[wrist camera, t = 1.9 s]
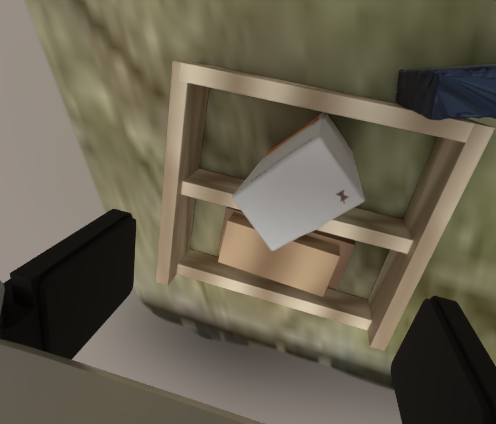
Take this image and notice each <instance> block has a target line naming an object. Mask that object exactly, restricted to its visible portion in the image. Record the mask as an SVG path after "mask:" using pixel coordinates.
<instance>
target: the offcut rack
mask: <svg viewBox="0 0 496 424" xmlns="http://www.w3.org/2000/svg"><path fill="white" fill-rule="evenodd" d="M209 87H210V88H215V89H219V90H224V91H229V92H233V93H238V94H243V95H247V96H252V97H256V98H261V99H266V100H270V101H275V102H280V103H284V104H289V105H293V106H298V107H303V108H307V109H312V110H317V111H321V112H326V113H330V114H335V115H340V116H344V117H349V118H354V119H358V120H363V121H367V122H372V123H377V124H381V125H386V126H391V127H395V128H400V129H404V130H409V131H414V132H418V133H423V134H428V135H432V136H437V137H438V139H437V141H436V143H435V146H434V148H433V150H432V153H431V155H430V157H429V159H428V162H427V164H426V166H425V169H424V171H423V173H422V176H421V178H420V180H419V183H418V185H417V187H416V190H415V192H414V194H413V197H412V199H411V201H410V204H409V206H408V208H407V211H406V213H405V215H404V218H403V220H402V219H398V218H394V217H390V216H386V215H382V214H378V213H374V212H370V211H367V210H363V209H359V208H355V207H354V208H352V209H350V210H349V211H347V212H345V213H343V214H341V215H340V216H338V217H336V218H334V219H332V220H331V221H329V222H327V223H326V224H324V225H323V226H321V227H320V228H318V229H316V230H319V231H322V232H326V233H330V234H334V235H338V236H341V237H345V238H349V239H353V240H357V241H360V242H364V243H368V244H372V245H376V246H379V247H383V248H387V249H390V250H389V253H388V255H387V257H386V260H385V262H384V264H383V267H382V269H381V271H380V274H379V276H378V278H377V281H376V283H375V285H374V288H373V290H372V292H371V295H370V297H369V299H368V300H367V299H363V298H360V297H356V296H353V295H349V294H346V293H342V292H339V291H335V290H332V289H328V288H327V289H326V291H325V293H324V296H323V297H321V296H318V295H315V294H312V293H309V292H306V291H303V290H300V289H297V288H294V287H291V286H288V285H285V284H282V283H280V282H277V281H274V280H271V279H268V278H265V277H262V276H259V275H256V274H253V273H250V272H247V271H244V270H241V269H238V268H235V267H232V266H229V265H226V264H223V263H220V262H218V260H219V257H216V256H212V255H209V254H205V253H202V252H198V251H195V250H191V249H190V241H191V233H192V225H193V216H194V208H195V200H196V198H197V199H201V200H205V201H208V202H212V203H216V204H220V205H224V206H227V207H231V208H235V209H239V210H241V209H240V208H239V207H238V205H237V204H236V202H235V201H234V200H233V199H232V196H233V195H234V193H235V192H236V191H237V190H238V188H239V187H240V186H241V185H242V183H243V182H244V181H245V180H243V179H239V178H235V177H231V176H227V175H223V174H219V173H215V172H211V171H207V170H203V169H199V168H200V159H201V151H202V143H203V135H204V127H205V119H206V111H207V102H208V94H209ZM494 129H495V128H494V127H491V126H488V125H484V124H481V123H478V122H475V121H472V120H469V119H466V118H465V119H451V118H449V119H443V120H430V119H427V118H425V117H424V116H422V115H419V114H418V113H416V112H414V111H412V110H410V109H408V108H405V107H404V106H402V105H399V104H395V103H390V102H385V101H380V100H375V99H370V98H366V97H361V96H356V95H351V94H346V93H341V92H337V91H332V90H327V89H322V88H317V87H313V86H308V85H303V84H298V83H293V82H288V81H284V80H279V79H274V78H269V77H264V76H259V75H255V74H250V73H245V72H240V71H235V70H230V69H226V68H221V67H216V66H211V65H206V64H201V63H194V62H182V61H173V64H172V78H171V91H170V104H169V117H168V131H167V144H166V157H165V170H164V183H163V197H162V210H161V223H160V236H159V250H158V263H157V276H156V282H158V283H161V284H164V285H169V283H170V282H171V281H172V279H173V278H174V277H175V275H176V274H179V275H182V276H186V277H189V278H192V279H196V280H199V281H203V282H206V283H209V284H213V285H216V286H219V287H223V288H226V289H230V290H233V291H236V292H240V293H243V294H246V295H250V296H253V297H257V298H260V299H263V300H267V301H270V302H273V303H277V304H280V305H284V306H287V307H290V308H294V309H297V310H300V311H304V312H307V313H310V314H314V315H317V316H321V317H324V318H327V319H331V320H334V321H337V322H341V323H344V324H348V325H351V326H354V327H358V328H361V329H364V330H368V337H369V343H370V347H372V348H376V349H379V350H382V351H384V350H385V348H386V346H387V344H388V342H389V340H390V338H391V336H392V334H393V332H394V330H395V328H396V326H397V324H398V322H399V320H400V318H401V316H402V314H403V312H404V310H405V308H406V306H407V304H408V302H409V300H410V298H411V296H412V294H413V292H414V290H415V288H416V286H417V284H418V282H419V280H420V278H421V276H422V274H423V272H424V270H425V268H426V266H427V264H428V262H429V260H430V258H431V256H432V254H433V252H434V250H435V248H436V246H437V244H438V242H439V240H440V238H441V236H442V234H443V232H444V230H445V228H446V226H447V224H448V222H449V220H450V218H451V216H452V214H453V212H454V210H455V208H456V206H457V204H458V202H459V200H460V198H461V196H462V194H463V192H464V190H465V188H466V186H467V183H468V181H469V179H470V177H471V175H472V173H473V171H474V169H475V167H476V165H477V163H478V161H479V159H480V157H481V155H482V153H483V151H484V149H485V147H486V145H487V143H488V141H489V139H490V137H491V135H492V133H493V131H494Z"/></svg>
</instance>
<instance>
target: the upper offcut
mask: <svg viewBox="0 0 496 424" xmlns="http://www.w3.org/2000/svg"><path fill="white" fill-rule="evenodd" d="M339 257H340V251H339V245H336V244H333V243H330V242H327V241H323V240H320V239H317V238H314V237H311V236H307V235H303V236H301V237H299V238H297V239H295V240H294V241H292V242H290V243H288V244H286V245H284V246H283V247H281V248H279V249H277V250H275V251H271V250H270V249H269V247H268V246H267V245H266V243H265V242H264V241H263V239H262V238H261V236H260V235H259V234H258V232H257V231H256V230H255V228H254V227H253V226H252V224H251V223H250V222H249V220H248V219H247V217H246V216H244V215H240V214H237V213H234V212H233V214H232V215H231V216H230V218H229V219H228V221H227V225H226V230H225V234H224V238H223V242H222V247H221V251H220V255H219V260H218V262H220V263H223V264H226V265H229V266H232V267H235V268H238V269H241V270H244V271H247V272H250V273H253V274H256V275H259V276H262V277H265V278H268V279H271V280H274V281H277V282H280V283H282V284H285V285H288V286H291V287H294V288H297V289H300V290H303V291H306V292H309V293H312V294H315V295H318V296H321V297H323V296H324V293H325V291H326V289H327V286H328V284H329V281H330V279H331V277H332V274H333V272H334V269H335V267H336V265H337V262H338V260H339Z"/></svg>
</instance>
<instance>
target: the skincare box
mask: <svg viewBox="0 0 496 424" xmlns="http://www.w3.org/2000/svg"><path fill="white" fill-rule="evenodd" d="M232 199H233V200H234V201H235V202H236V204H237V205H238V207H239V208H240V209H241V211H242V212H243V213H244V215H245V216H246V217H247V219H248V220H249V222H250V223H251V224H252V226H253V227H254V228H255V230H256V231H257V232H258V234H259V235H260V236H261V238H262V239H263V241H264V242H265V243H266V245H267V246H268V247H269V249H270V250H271V251H275V250H277V249H279V248H281V247H283V246H284V245H286V244H288V243H290V242H292V241H294V240H295V239H297V238H299V237H301V236H303V235H305V234H308V233H310V232H312V231H314V230H316V229H318V228H320V227H321V226H323V225H324V224H326V223H327V222H329V221H331V220H332V219H334V218H336V217H338V216H340V215H341V214H343V213H345V212H347V211H349V210H350V209H352V208H354V207H356V206H358V205H359V204H361V203H363V202H364V201H365V197H364V194H363V191H362V187H361V182H360V179H359V175H358V171H357V167H356V163H355V159H354V156H353V152H352V150H351V149H350V147H349V145H348V144H347V142H346V141H345V139H344V138H343V136H342V134H341V133H340V131H339V130H338V128H337V127H336V126H335V124H334V123H333V121H332V120H331V118H330V117H329V115H328V114H327V113H326V112H322V113H321V114H320V115H318V116H317V117H316V118H314V119H313V120H312V121H310V122H309V123H308V124H306V125H305V126H304V127H302V128H301V129H300V130H298V131H297V132H295V133H294V134H293V135H291V136H290V137H288V138H287V139H285V140H284V141H282V142H281V143H279V144H278V145H276V146H275V147H274V148H272V149H271V150H269V151H268V152H267V154H266V155H265V156H264V157H263V158H262V160H261V161H260V162H259V163H258V165H257V166H256V167H255V168H254V170H253V171H252V172H251V173H250V175H249V176H248V177H247V178H246V180H245V181H244V182H243V183H242V185H241V186H240V187H239V188H238V190H237V191H236V192H235V193H234V195H233V196H232Z"/></svg>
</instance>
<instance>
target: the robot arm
mask: <svg viewBox="0 0 496 424" xmlns="http://www.w3.org/2000/svg"><path fill="white" fill-rule="evenodd" d="M135 239H136V220H135V219H133V218H132V215H131V214H130V213H128V212H124V211H120V210H117V209H112V210H110V211H108V212H107V213H105V214H104V215H102V216H100V217H99V218H97V219H96V220H94V221H93V222H91V223H89V224H88V225H86V226H85V227H83V228H81V229H80V230H78V231H77V232H75V233H73V234H72V235H70V236H69V237H67V238H66V239H64V240H62V241H61V242H59V243H58V244H56V245H54V246H53V247H51V248H49V249H48V250H46V251H45V252H43V253H41V254H40V255H38V256H37V257H35V258H33V259H32V260H30V261H29V262H27V263H26V264H24V265H23V266H21V267H19V268H18V269H16V270H14V271H13V272H11V273H10V277H11V279H9V280H8V281H6V282H5V283H2V282H1V281H0V424H264V423H260V422H258V421H255V420H252V419H249V418H246V417H243V416H240V415H237V414H234V413H231V412H228V411H225V410H222V409H219V408H216V407H213V406H210V405H207V404H204V403H201V402H198V401H195V400H192V399H189V398H186V397H183V396H180V395H177V394H174V393H171V392H168V391H165V390H162V389H159V388H156V387H153V386H150V385H147V384H144V383H141V382H138V381H135V380H132V379H128V378H125V377H122V376H119V375H116V374H113V373H110V372H107V371H104V370H101V369H98V368H95V367H92V366H89V365H86V364H83V363H80V362H77V361H73V360H72V358H73V357H74V356H75V355H76V354H77V352H79V351H80V350H81V348H82V347H83V346H84V345H85V344H86V343H87V342H88V341H89V339H90V338H91V337H92V336H93V335H94V334H95V333H96V332H97V330H98V329H99V328H100V327H101V326H102V325H103V324H104V323H105V321H106V320H107V319H108V318H109V317H110V316H111V315H112V314H113V312H114V311H115V310H116V309H117V308H118V307H119V306H120V305H121V303H122V302H123V301H124V300H125V299H126V298H127V297H128V295H129V294H130V292H131V291H132V288H133V282H134V260H135ZM391 376H392V381H393V385H394V389H395V394H396V398H397V402H398V407H399V411H400V415H401V419H402V424H496V366H495V365H494V363H493V361H492V360H491V358H490V356H489V355H488V353H487V351H486V350H485V348H484V346H483V345H482V343H481V341H480V340H479V338H478V336H477V335H476V333H475V331H474V330H473V328H472V326H471V325H470V323H469V321H468V320H467V318H466V316H465V315H464V313H463V311H462V309H461V308H460V306H459V304H458V303H457V302H456V301H453V300H449V299H445V298H442V297H438V296H433V297H432V298H431V299H425V300H424V301H423V303H422V305H421V307H420V309H419V311H418V313H417V315H416V316H415V318H414V320H413V322H412V324H411V326H410V328H409V330H408V332H407V334H406V336H405V338H404V340H403V342H402V344H401V346H400V348H399V350H398V352H397V354H396V355H395V357H394V359H393V362H392V365H391Z"/></svg>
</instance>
